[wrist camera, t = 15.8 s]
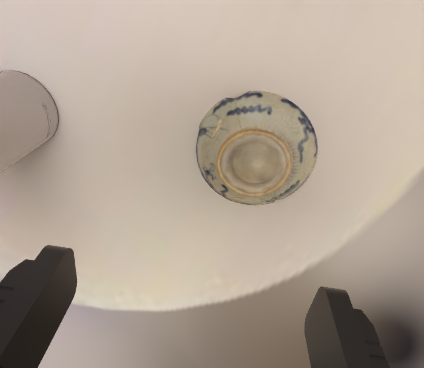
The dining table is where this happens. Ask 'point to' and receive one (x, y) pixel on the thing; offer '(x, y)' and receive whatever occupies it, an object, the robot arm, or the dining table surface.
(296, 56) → the dining table surface
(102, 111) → the dining table surface
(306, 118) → the decorative bowl
